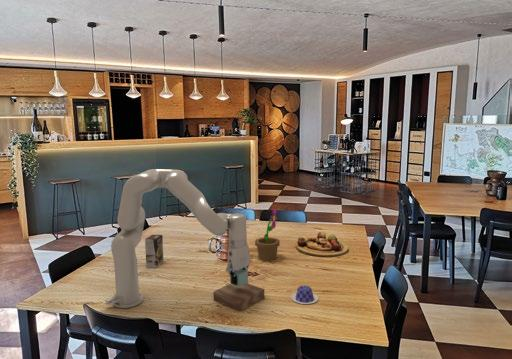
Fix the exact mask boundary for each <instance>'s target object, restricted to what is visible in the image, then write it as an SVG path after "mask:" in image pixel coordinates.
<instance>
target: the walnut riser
mask: <svg viewBox="0 0 512 359" xmlns="http://www.w3.org/2000/svg"><path fill="white" fill-rule="evenodd" d="M264 299H265V289H264V288H262V287H259V286H257V285H254V284H251V283H249V282H248V283H246V284H244V285H242V286H240V287H238V286H236V285H233V284H230V283H229V284H227V285H225V286H222V287H220V288H218V289H216V290H214V291H213V301H215V302H217V303H219V304H222V305H223V306H227V307H229V308H231V309H233V310H236V311H238V312H242V311H244V310H246V309H247V308H249V307H251V306H253V305H254V304H257V303H258V302H259V301H261V300H264Z"/></svg>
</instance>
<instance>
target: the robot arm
mask: <svg viewBox="0 0 512 359" xmlns="http://www.w3.org/2000/svg"><path fill="white" fill-rule="evenodd" d="M188 179H189V177H188V175H187V173H186V172H185V171H183V170H181V169H168V168H167V169H164V168H163V169H162V168H160V169H159V168H157V169H155V168H152V169H151V168H150V169H148V170H145V171H143V172H141V173H138V174H135V175H133V176H131V177H129V178H128V179H127V180H126V182H125V183H124V185H123V187H122V191H121V192H122V193H121V199H120V204H119V209H118V213H117V214H118V215H117V220H116V221H117V225H118V227H119V228H120V229H121V230H120V232H119V233H117V234H116V235H115V236H114V237H113V239H112V241H111V245H110V248H111V253H112V259H113V269H114V280H115V293H114V294H113V296H112V297H111V298H107V299H106V300H105V304H106V305H110V304H111V305H113V306H114V307H115V308H118V309H129V308H133V307H136V306H139V305H140V304H142V303H143V301H144V295H142V294H141V293H140V285H139V284H140V283H139V271H138V270H139V268H138V258H137V254H136V247H137V246H138V245H139V244H140V242H141V240H142V238H143V237H142V236H143V232H144V226H145V220H146V212H145V209H144V207H143V206H142V204H143V196H144V194H145V193H148V192H152V191H154V190H155V189H167V190H168V191H169V192H170V193H171V194H172V195H173V196H174V197H176V198H177V199H178V200H179V201H180V202H182V204H184V205H185V206H186V207H187V208H188V209H189V211H190V213H191V214H192V215H193V216H194V218H195V219H196V220H197V221H198V222H199V223H200V224H201V225H202V226H203V227H204V228H205V229H207V230H208V231H209V232H210V234H212V235H214V236H219V237H221V236H223V235H225V234H226V233H227V231H228V235H229V236H228V238H229V241H228V251H227V266H226V268H225V272H226V273H228V274H229V276H230V275H231V283H232V284H234V285H237V276H236V273H237V270H240V269H244V270H247V271H249V269H248V268H249V266H250V265H251V262H252V260H251V253H250V247H249V244H248V243H247V241H248V240H247V237H248V236H247V234H248V233H247V217H246V215H245V214H244V213H225V212H219V213H216V212H215V211H214V210H213V209H212V208H211V207H210V205H209V204H208V201H207V200H206V197H205V195H204V194H203V193H202V192H201V190H200V189H198V188H197V187H196V186H195V185H194V184H193V183H192V182H191V181H189V180H188ZM233 270H234V273H233Z"/></svg>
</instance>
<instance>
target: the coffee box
mask: <svg viewBox="0 0 512 359" xmlns="http://www.w3.org/2000/svg"><path fill="white" fill-rule="evenodd" d="M163 240H164V239H163V234H151V235H150V236H148V237H146V238H145V239H144V244H145V246H144V248H145V249H144V250H145V266H146V268H154V269H157V268H158V267H159V266H161V265H162V264H164V262H165V261H164V244H163V243H164V242H163Z"/></svg>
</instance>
